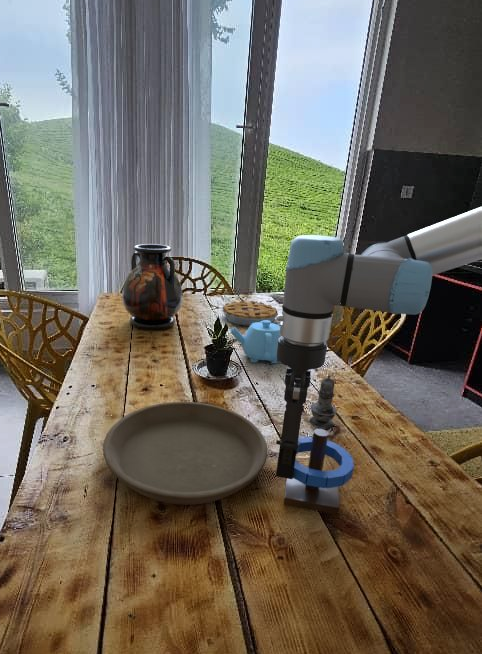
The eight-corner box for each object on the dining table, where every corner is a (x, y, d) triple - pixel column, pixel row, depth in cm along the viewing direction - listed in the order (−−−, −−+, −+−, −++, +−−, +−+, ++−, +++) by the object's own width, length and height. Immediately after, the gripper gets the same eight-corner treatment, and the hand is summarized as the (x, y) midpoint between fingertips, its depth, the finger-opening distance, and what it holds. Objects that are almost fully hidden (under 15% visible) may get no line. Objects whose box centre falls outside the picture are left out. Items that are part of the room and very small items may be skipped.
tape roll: (349, 452, 81) (351, 443, 80) (353, 494, 70) (356, 483, 69) (283, 441, 83) (285, 432, 82) (278, 479, 72) (280, 469, 72)
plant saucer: (240, 539, 68) (242, 515, 66) (69, 486, 77) (67, 464, 76) (279, 437, 95) (281, 418, 93) (149, 407, 105) (149, 390, 103)
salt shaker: (314, 413, 106) (321, 367, 101) (338, 421, 102) (346, 374, 98) (304, 423, 101) (311, 375, 97) (328, 432, 98) (337, 383, 93)
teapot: (288, 348, 145) (292, 314, 140) (298, 369, 129) (303, 331, 125) (227, 346, 145) (229, 311, 140) (229, 366, 129) (232, 328, 125)
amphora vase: (110, 324, 160) (107, 245, 149) (149, 312, 177) (149, 240, 166) (156, 338, 149) (156, 254, 138) (193, 323, 165) (196, 247, 155)
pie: (217, 310, 183) (218, 298, 181) (269, 310, 185) (270, 299, 184) (226, 327, 163) (227, 314, 161) (284, 327, 165) (285, 314, 163)
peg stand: (336, 482, 82) (347, 423, 77) (338, 515, 74) (351, 451, 69) (286, 473, 84) (295, 415, 79) (283, 504, 76) (292, 442, 71)
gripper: (283, 316, 80) (270, 424, 88) (272, 361, 60) (257, 495, 68) (326, 320, 78) (309, 430, 87) (329, 369, 58) (306, 505, 67)
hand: (286, 458), depth 77 cm, fingers closed on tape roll, 9 cm apart
